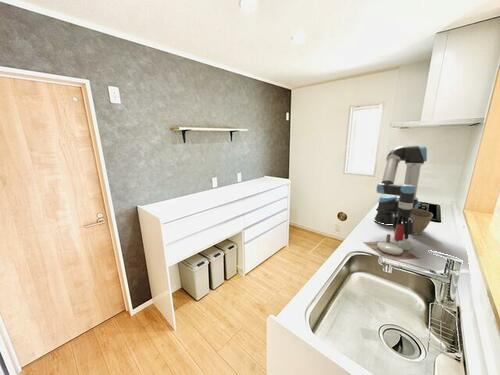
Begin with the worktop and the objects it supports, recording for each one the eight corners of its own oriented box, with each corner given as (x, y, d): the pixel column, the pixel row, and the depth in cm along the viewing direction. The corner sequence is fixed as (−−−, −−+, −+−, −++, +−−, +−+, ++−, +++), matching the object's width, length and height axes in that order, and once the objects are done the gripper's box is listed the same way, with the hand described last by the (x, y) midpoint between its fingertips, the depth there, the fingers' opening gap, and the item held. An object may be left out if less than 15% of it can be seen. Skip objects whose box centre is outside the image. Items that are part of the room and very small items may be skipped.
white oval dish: (387, 255, 117) (388, 247, 116) (372, 244, 130) (373, 237, 129) (418, 254, 118) (420, 246, 118) (400, 244, 131) (402, 236, 130)
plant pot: (404, 234, 151) (408, 215, 146) (401, 225, 163) (405, 207, 158) (430, 238, 144) (435, 218, 139) (425, 229, 156) (429, 210, 151)
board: (362, 243, 134) (363, 233, 133) (391, 243, 136) (392, 233, 134) (386, 261, 113) (388, 249, 111) (420, 260, 114) (422, 248, 113)
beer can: (400, 239, 142) (403, 222, 139) (408, 243, 135) (411, 226, 133) (391, 239, 141) (394, 222, 139) (398, 243, 135) (401, 226, 133)
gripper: (388, 204, 143) (384, 234, 148) (412, 212, 124) (406, 247, 128) (398, 204, 144) (394, 234, 148) (423, 212, 125) (417, 247, 129)
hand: (400, 240), depth 138 cm, fingers closed on beer can, 7 cm apart
